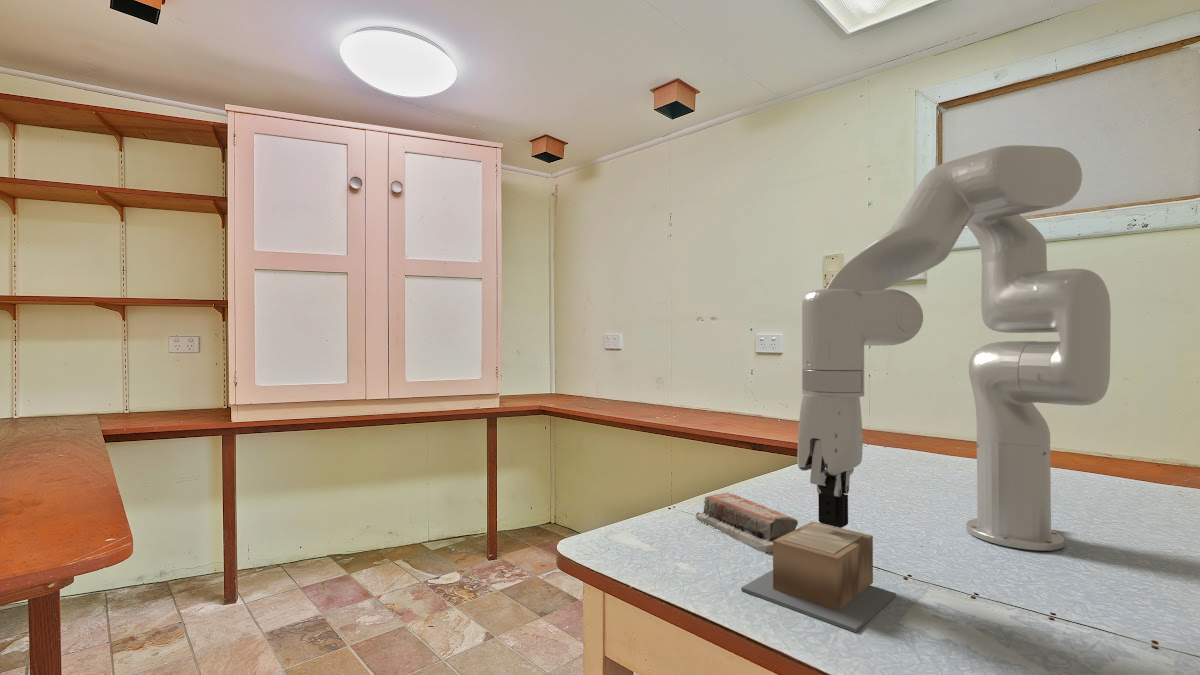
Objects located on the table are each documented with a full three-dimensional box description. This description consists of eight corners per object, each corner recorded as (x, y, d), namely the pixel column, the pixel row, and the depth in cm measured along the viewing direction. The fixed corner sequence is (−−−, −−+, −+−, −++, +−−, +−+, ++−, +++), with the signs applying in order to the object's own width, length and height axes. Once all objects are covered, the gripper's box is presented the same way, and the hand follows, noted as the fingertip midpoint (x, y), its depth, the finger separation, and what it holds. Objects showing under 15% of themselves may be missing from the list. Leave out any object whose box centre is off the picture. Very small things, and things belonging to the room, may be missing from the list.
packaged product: (693, 494, 98) (737, 488, 102) (693, 521, 97) (737, 514, 102) (765, 524, 81) (814, 515, 86) (765, 557, 81) (814, 546, 86)
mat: (788, 563, 78) (788, 560, 78) (895, 596, 67) (895, 593, 67) (741, 590, 69) (741, 587, 69) (855, 632, 59) (855, 628, 59)
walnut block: (812, 520, 76) (773, 540, 69) (872, 535, 71) (837, 557, 63) (812, 564, 76) (773, 589, 68) (872, 582, 70) (837, 611, 63)
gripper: (828, 380, 80) (829, 506, 79) (778, 385, 69) (778, 530, 69) (883, 382, 74) (884, 518, 74) (837, 388, 64) (838, 546, 64)
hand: (833, 523), depth 72 cm, fingers closed
